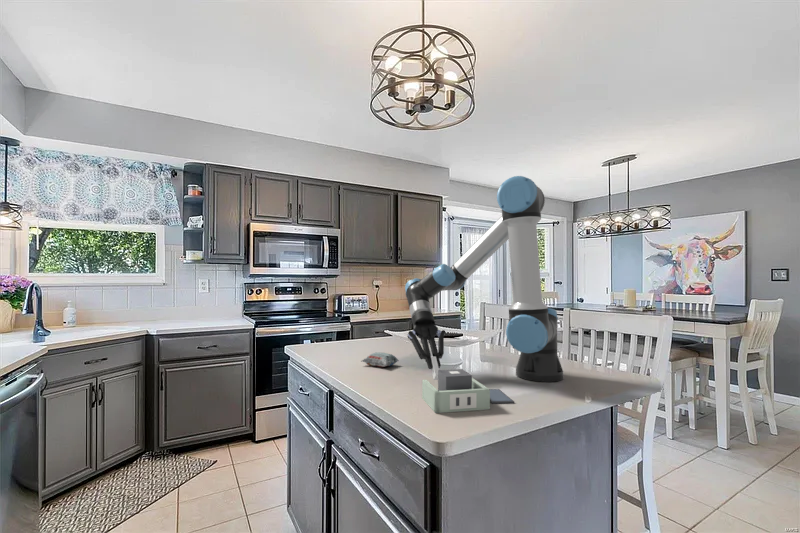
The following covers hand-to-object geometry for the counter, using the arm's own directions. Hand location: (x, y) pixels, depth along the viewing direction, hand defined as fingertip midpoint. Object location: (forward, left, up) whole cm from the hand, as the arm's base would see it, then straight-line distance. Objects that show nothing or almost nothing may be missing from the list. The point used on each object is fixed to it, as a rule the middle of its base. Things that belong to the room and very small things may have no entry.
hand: (437, 377), depth 118 cm
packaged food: (+18, -29, -4) cm, 34 cm away
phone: (-15, +9, -4) cm, 18 cm away
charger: (-3, +14, -3) cm, 15 cm away
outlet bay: (-3, +14, -3) cm, 15 cm away
